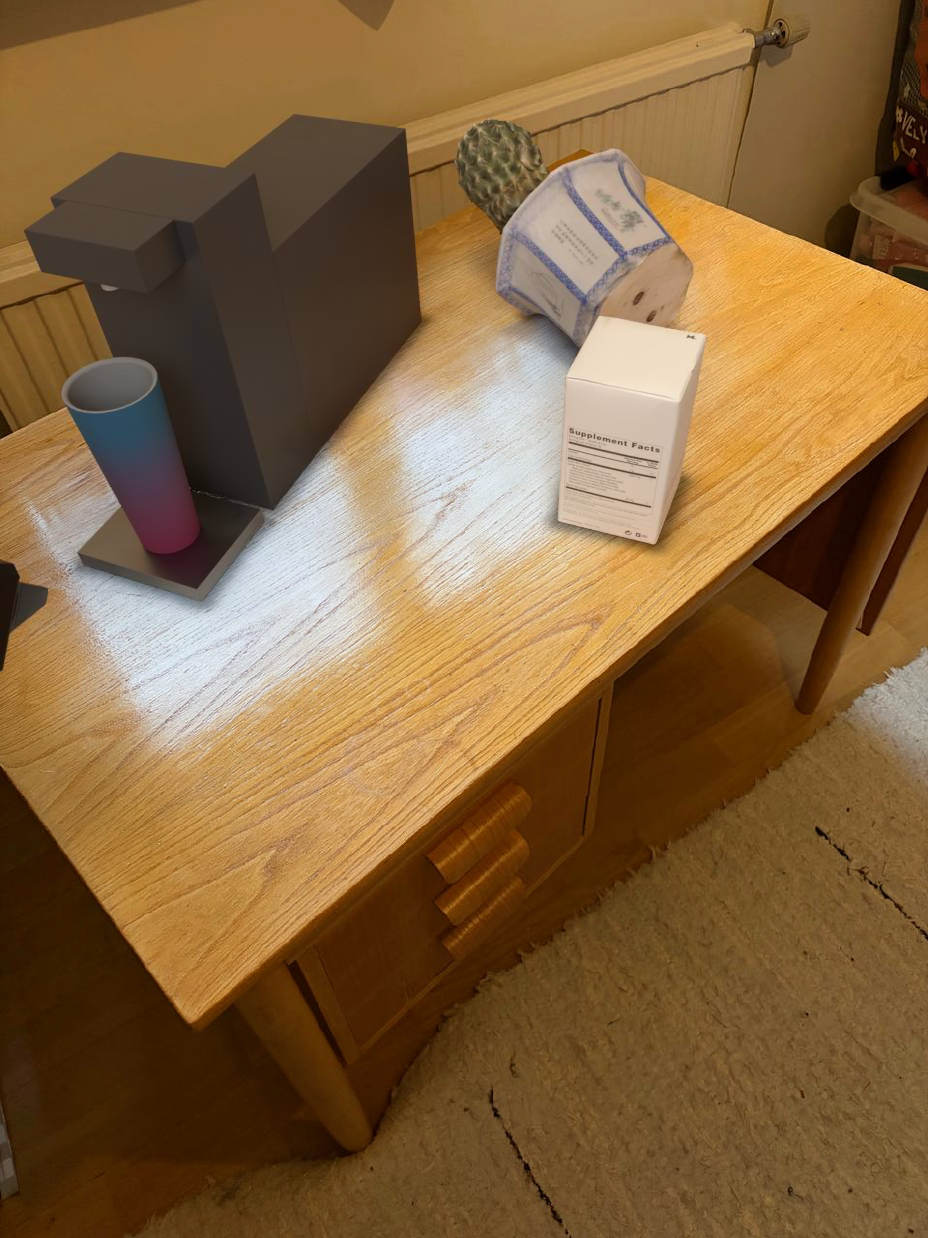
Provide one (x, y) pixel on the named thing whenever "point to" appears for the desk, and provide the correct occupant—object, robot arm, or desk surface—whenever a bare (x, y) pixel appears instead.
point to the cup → (135, 448)
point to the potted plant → (572, 233)
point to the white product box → (627, 426)
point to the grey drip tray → (183, 570)
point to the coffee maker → (249, 288)
